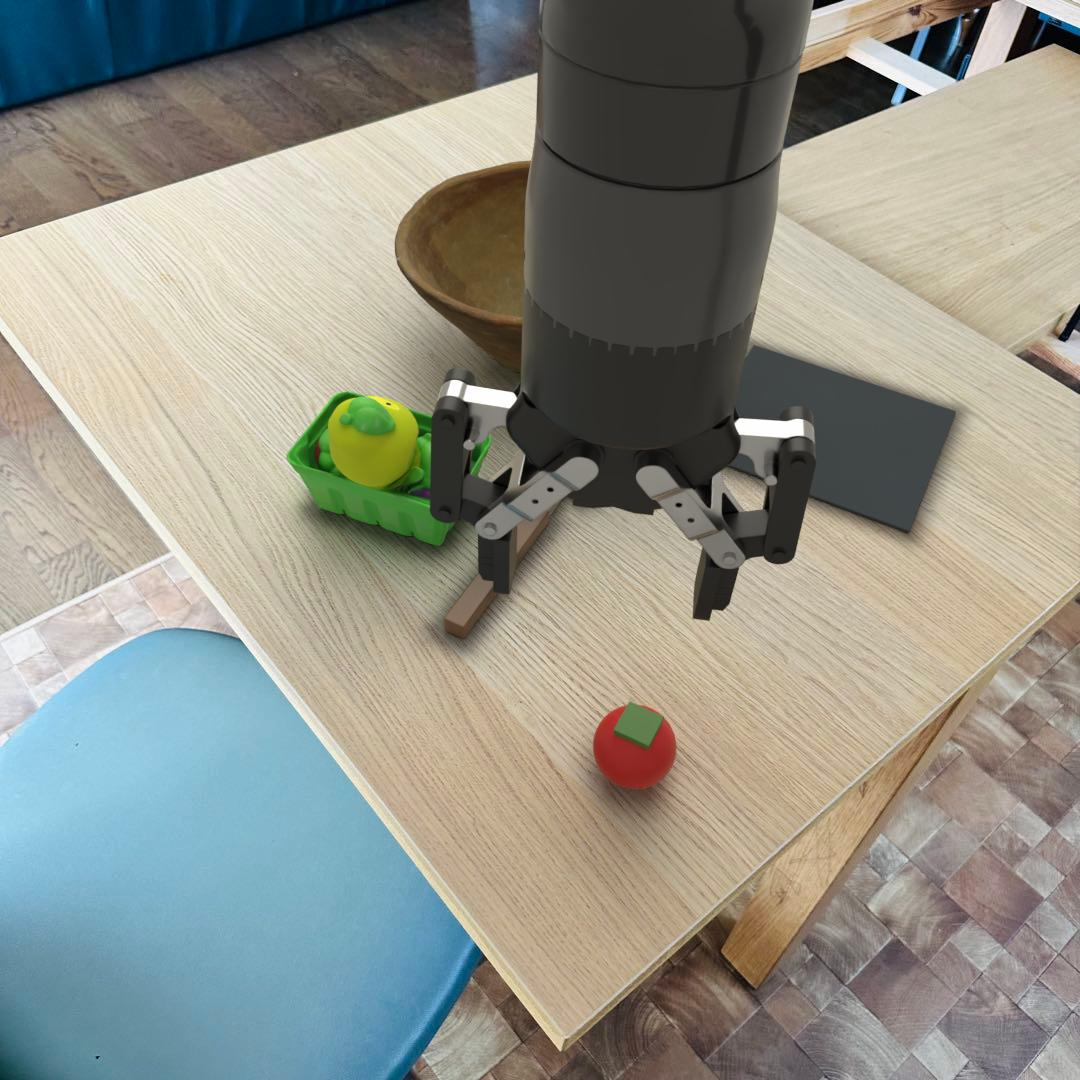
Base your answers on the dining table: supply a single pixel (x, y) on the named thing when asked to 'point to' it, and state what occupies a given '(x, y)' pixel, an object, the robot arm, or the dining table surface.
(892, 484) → the placemat
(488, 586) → the fork
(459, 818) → the dining table surface
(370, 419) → the fruit basket
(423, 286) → the bowl
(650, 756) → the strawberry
